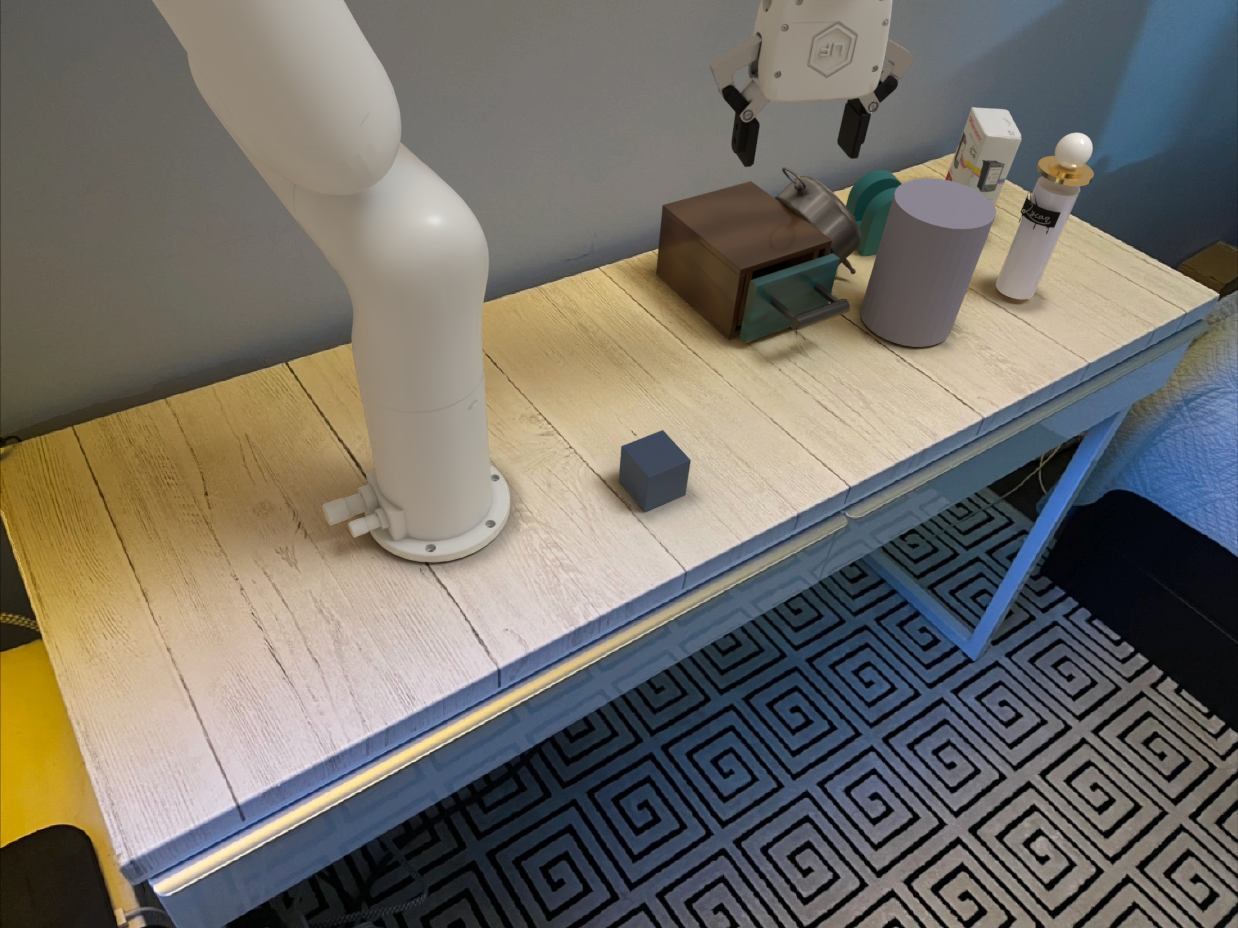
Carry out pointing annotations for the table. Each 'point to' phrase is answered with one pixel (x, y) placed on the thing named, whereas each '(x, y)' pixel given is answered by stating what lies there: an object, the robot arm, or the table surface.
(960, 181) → the ink box
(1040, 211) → the perfume bottle
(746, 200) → the cabinet
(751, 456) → the table surface
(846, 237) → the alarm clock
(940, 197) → the container
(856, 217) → the bracket
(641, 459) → the block
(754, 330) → the drawer
